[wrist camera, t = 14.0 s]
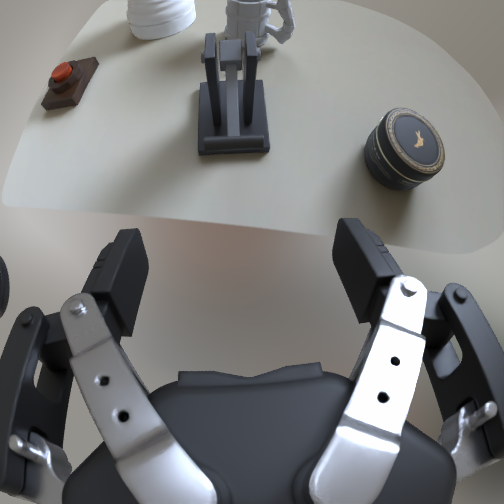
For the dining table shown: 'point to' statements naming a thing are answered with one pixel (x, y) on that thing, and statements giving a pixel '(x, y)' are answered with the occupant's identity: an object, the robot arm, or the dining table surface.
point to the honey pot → (159, 17)
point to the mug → (258, 20)
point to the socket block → (70, 85)
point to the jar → (404, 150)
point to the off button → (61, 72)
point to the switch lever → (232, 104)
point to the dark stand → (215, 98)
